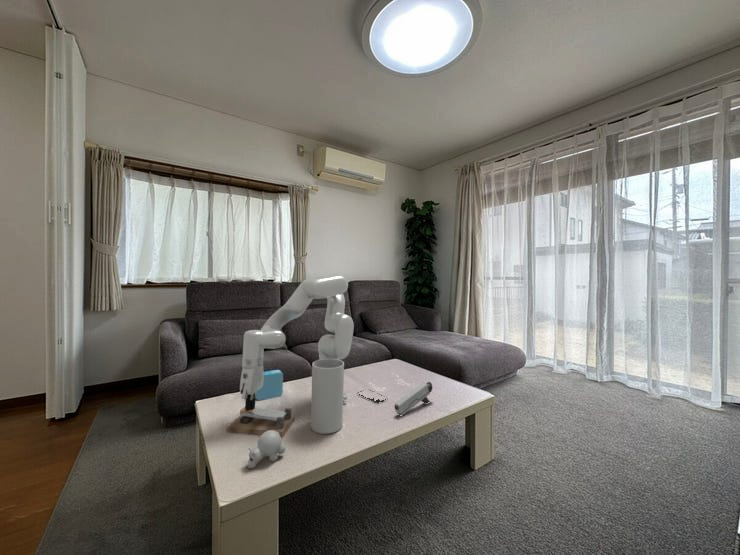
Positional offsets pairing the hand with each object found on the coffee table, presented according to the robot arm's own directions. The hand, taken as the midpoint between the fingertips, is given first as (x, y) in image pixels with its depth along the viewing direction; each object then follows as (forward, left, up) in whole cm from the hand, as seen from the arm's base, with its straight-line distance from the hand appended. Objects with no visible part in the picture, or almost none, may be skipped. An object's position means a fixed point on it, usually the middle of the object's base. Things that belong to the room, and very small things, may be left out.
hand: (250, 408), depth 109 cm
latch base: (-5, -1, -7) cm, 8 cm away
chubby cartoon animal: (-16, +19, -7) cm, 25 cm away
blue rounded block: (+5, -27, -7) cm, 28 cm away
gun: (-65, -25, -7) cm, 70 cm away
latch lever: (-5, -1, -2) cm, 6 cm away
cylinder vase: (-30, -5, -7) cm, 31 cm away
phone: (-45, -35, -7) cm, 57 cm away
